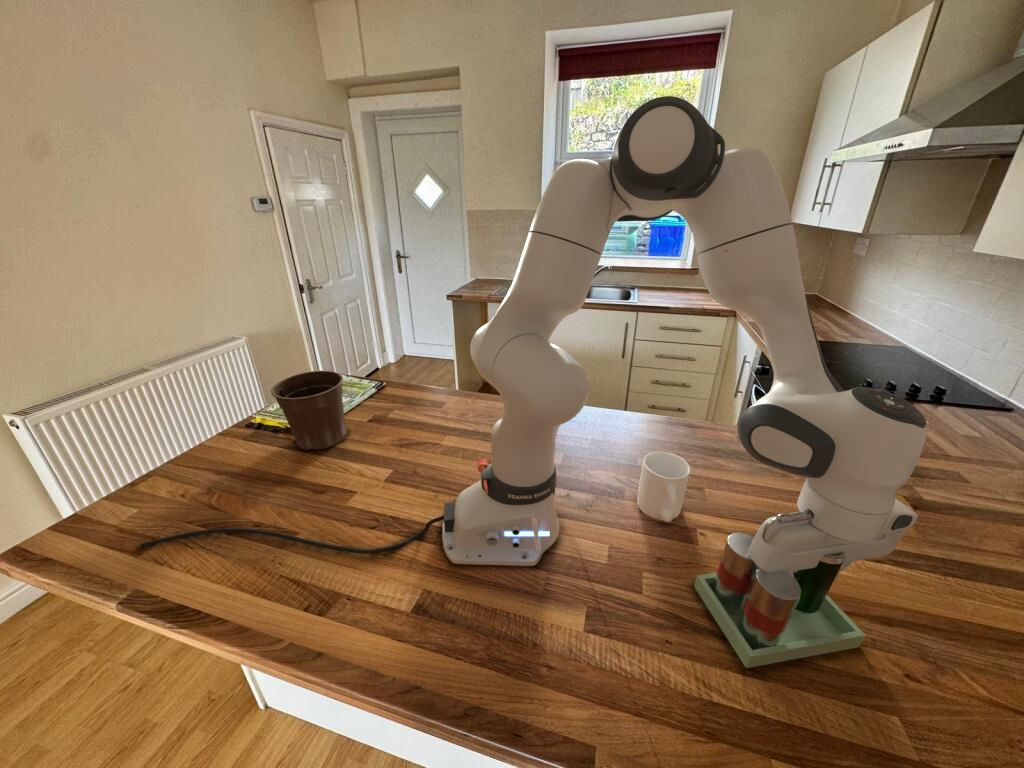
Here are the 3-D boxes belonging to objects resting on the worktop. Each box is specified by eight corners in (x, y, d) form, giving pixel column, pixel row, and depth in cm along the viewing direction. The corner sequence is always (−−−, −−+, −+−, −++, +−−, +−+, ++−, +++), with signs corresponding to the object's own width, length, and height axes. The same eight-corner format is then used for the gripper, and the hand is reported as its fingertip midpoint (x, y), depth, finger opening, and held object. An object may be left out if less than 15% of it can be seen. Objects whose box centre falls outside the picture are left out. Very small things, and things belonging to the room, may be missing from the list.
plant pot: (275, 442, 104) (257, 386, 97) (331, 416, 116) (319, 365, 109) (310, 464, 96) (293, 405, 89) (366, 433, 108) (356, 379, 101)
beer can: (808, 623, 57) (838, 565, 52) (769, 595, 61) (793, 538, 56) (824, 604, 60) (854, 546, 55) (786, 578, 64) (810, 522, 59)
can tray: (745, 670, 54) (750, 656, 53) (693, 587, 65) (696, 575, 64) (858, 648, 57) (866, 635, 55) (789, 573, 68) (794, 560, 66)
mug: (644, 534, 76) (652, 489, 71) (632, 491, 86) (639, 450, 82) (691, 537, 75) (702, 492, 70) (673, 493, 86) (682, 452, 81)
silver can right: (750, 660, 55) (775, 602, 50) (727, 624, 59) (747, 568, 54) (784, 654, 56) (811, 596, 50) (758, 619, 60) (781, 563, 55)
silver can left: (723, 618, 60) (742, 562, 55) (703, 588, 65) (720, 534, 59) (754, 613, 61) (776, 557, 56) (732, 584, 65) (751, 530, 60)
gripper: (788, 535, 48) (758, 610, 54) (930, 515, 51) (886, 587, 57) (752, 499, 54) (728, 570, 60) (882, 483, 57) (846, 552, 63)
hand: (806, 579), depth 59 cm, fingers closed on beer can, 5 cm apart
